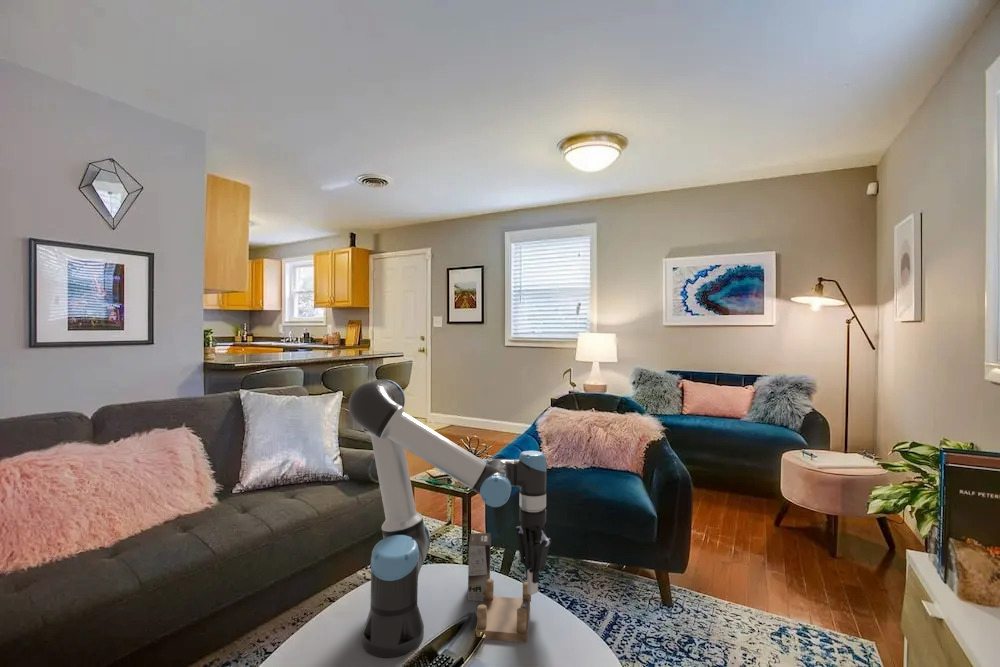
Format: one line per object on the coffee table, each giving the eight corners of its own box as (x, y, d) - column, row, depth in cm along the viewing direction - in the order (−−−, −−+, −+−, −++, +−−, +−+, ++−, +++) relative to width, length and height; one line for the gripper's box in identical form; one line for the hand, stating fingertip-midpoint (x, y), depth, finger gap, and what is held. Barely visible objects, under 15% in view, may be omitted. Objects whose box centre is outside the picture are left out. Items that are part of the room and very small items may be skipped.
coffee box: (489, 601, 134) (490, 545, 134) (467, 601, 134) (468, 544, 134) (490, 585, 143) (491, 532, 143) (469, 584, 143) (470, 532, 143)
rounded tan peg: (528, 608, 126) (528, 591, 126) (520, 607, 127) (520, 590, 127) (531, 598, 131) (531, 582, 131) (523, 597, 132) (523, 581, 132)
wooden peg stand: (475, 637, 117) (475, 609, 117) (484, 602, 133) (485, 578, 133) (526, 642, 116) (526, 614, 116) (529, 606, 131) (530, 581, 132)
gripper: (558, 511, 127) (558, 598, 126) (527, 498, 137) (527, 579, 136) (538, 517, 122) (538, 607, 122) (508, 504, 132) (507, 587, 132)
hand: (532, 592), depth 129 cm, fingers closed
